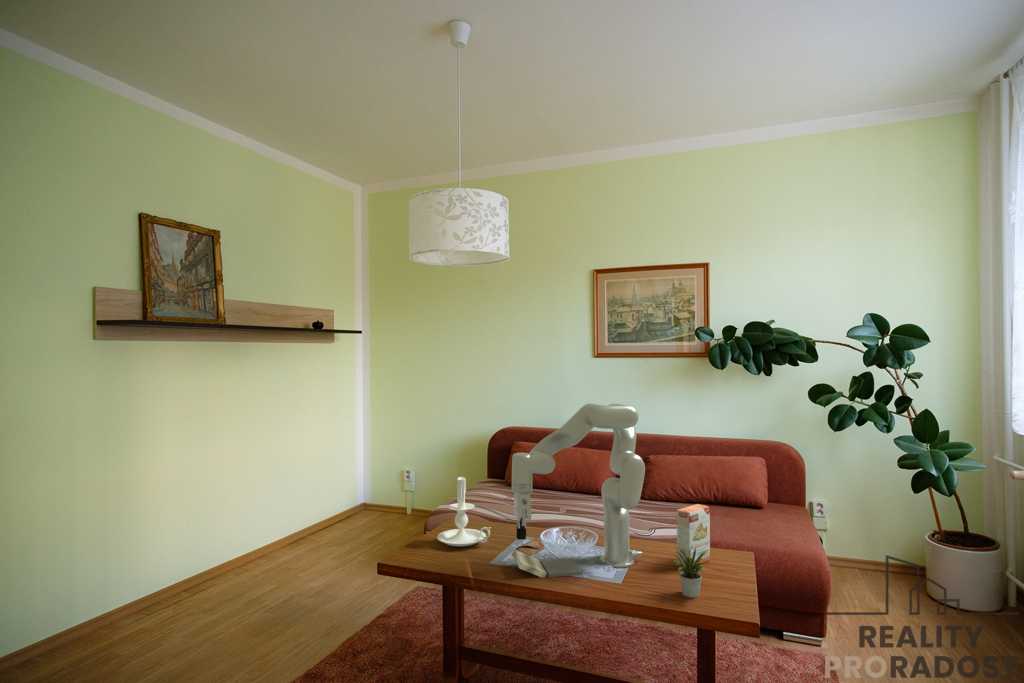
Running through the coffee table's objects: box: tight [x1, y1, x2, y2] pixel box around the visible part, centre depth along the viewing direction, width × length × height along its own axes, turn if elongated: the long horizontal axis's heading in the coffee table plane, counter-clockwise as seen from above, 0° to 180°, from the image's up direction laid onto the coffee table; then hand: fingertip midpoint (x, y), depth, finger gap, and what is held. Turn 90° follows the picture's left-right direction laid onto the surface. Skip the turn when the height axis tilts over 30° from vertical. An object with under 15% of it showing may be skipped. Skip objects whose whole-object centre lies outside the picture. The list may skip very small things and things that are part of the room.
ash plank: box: [512, 549, 549, 578], centre depth 202 cm, size 11×14×2 cm
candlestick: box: [436, 476, 492, 548], centre depth 235 cm, size 21×25×28 cm
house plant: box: [666, 544, 708, 598], centre depth 183 cm, size 14×14×16 cm
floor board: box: [539, 557, 583, 578], centre depth 204 cm, size 12×14×2 cm
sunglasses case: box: [514, 537, 545, 557], centre depth 225 cm, size 18×7×7 cm
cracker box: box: [676, 503, 711, 567], centre depth 211 cm, size 14×6×21 cm, turn 129°
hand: (521, 538), depth 201 cm, fingers closed
